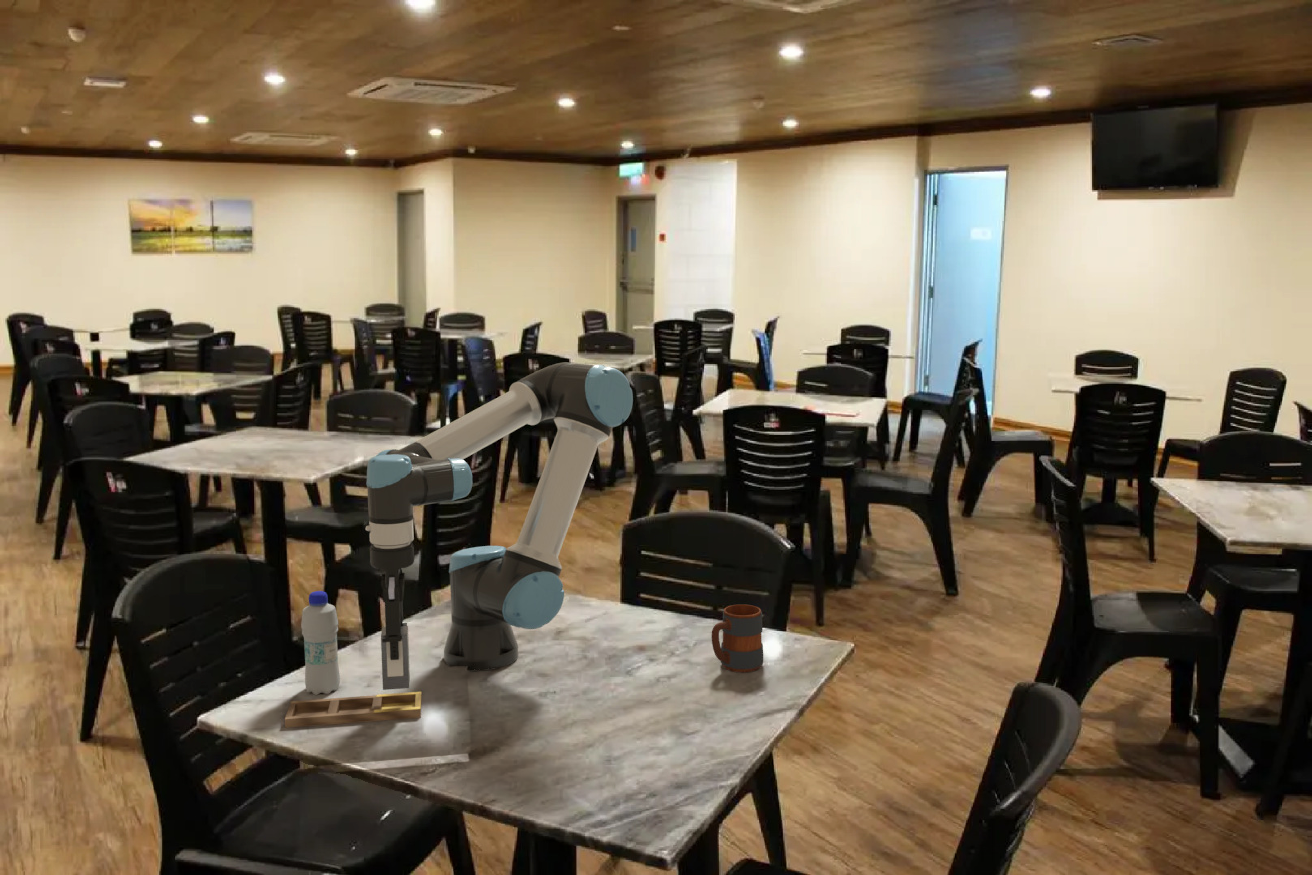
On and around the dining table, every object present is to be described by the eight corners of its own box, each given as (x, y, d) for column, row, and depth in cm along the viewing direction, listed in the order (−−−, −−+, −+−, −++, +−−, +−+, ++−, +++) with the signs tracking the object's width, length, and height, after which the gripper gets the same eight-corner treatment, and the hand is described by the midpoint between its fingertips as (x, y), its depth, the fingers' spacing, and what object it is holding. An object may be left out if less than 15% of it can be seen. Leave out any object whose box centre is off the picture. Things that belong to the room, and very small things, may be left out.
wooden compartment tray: (421, 704, 204) (421, 691, 203) (420, 722, 196) (420, 708, 196) (291, 714, 200) (291, 700, 199) (285, 732, 192) (284, 718, 191)
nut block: (409, 678, 201) (407, 625, 199) (408, 688, 196) (407, 633, 195) (384, 680, 200) (382, 626, 198) (382, 689, 195) (380, 635, 194)
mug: (698, 667, 222) (698, 611, 220) (744, 655, 229) (744, 600, 227) (726, 680, 215) (726, 623, 213) (772, 667, 222) (773, 611, 220)
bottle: (331, 701, 205) (325, 597, 202) (298, 698, 207) (292, 595, 203) (348, 687, 212) (343, 587, 209) (315, 685, 213) (310, 585, 210)
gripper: (372, 532, 202) (377, 654, 206) (366, 557, 185) (371, 690, 188) (415, 530, 203) (418, 652, 207) (412, 555, 186) (416, 687, 190)
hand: (396, 669), depth 198 cm, fingers closed on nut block, 4 cm apart
